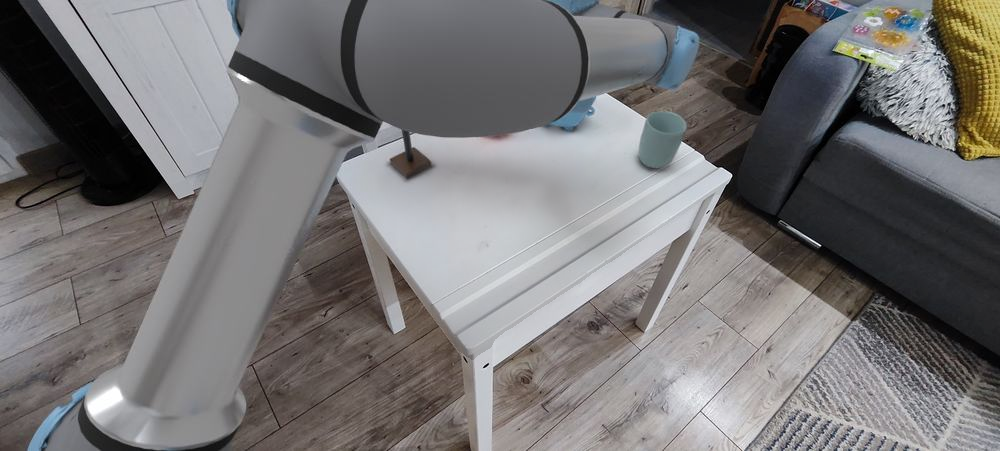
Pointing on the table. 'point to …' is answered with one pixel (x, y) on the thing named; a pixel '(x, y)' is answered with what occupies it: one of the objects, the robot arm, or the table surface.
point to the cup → (661, 138)
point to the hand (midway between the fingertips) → (367, 59)
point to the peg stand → (409, 159)
